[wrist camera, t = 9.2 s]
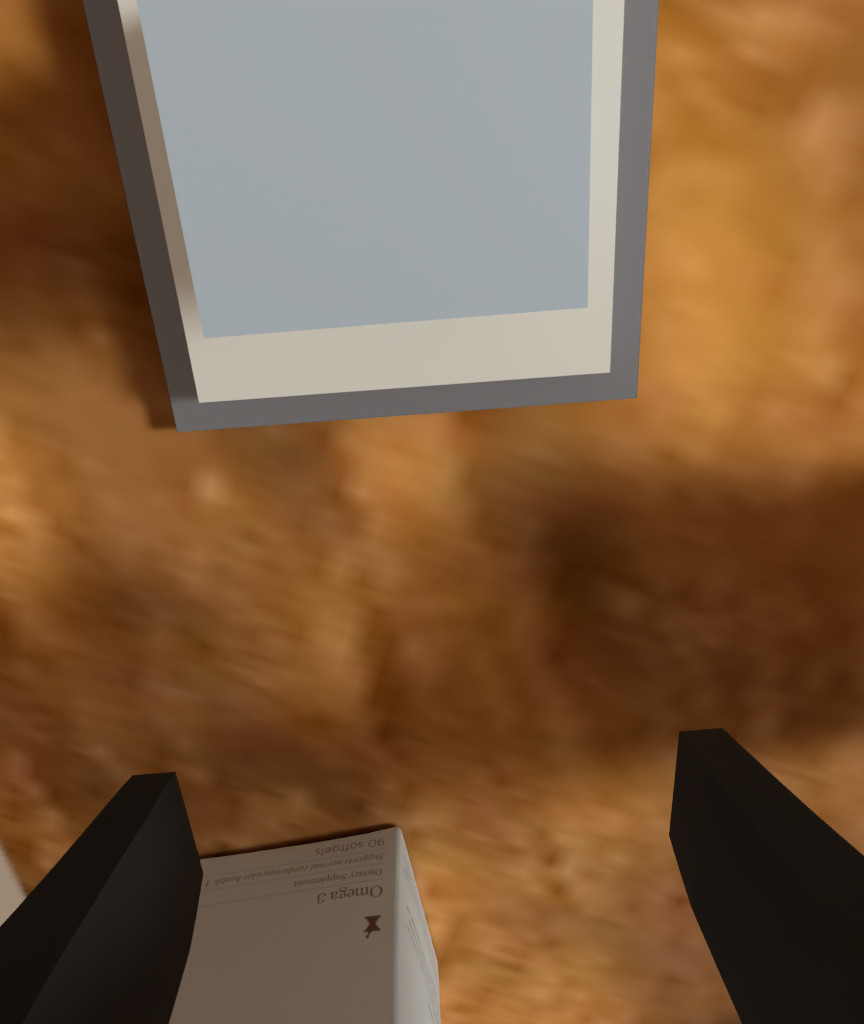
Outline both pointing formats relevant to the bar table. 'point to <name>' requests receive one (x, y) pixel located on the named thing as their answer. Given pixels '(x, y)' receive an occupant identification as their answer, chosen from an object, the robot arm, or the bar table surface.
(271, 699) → the bar table surface
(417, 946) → the supplement box
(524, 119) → the carton
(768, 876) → the robot arm
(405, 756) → the bar table surface
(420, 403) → the display podium
